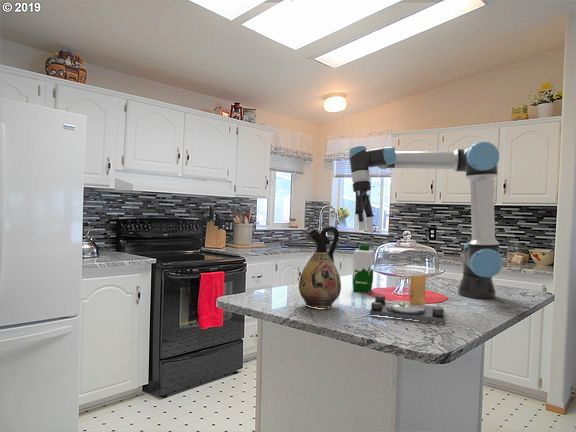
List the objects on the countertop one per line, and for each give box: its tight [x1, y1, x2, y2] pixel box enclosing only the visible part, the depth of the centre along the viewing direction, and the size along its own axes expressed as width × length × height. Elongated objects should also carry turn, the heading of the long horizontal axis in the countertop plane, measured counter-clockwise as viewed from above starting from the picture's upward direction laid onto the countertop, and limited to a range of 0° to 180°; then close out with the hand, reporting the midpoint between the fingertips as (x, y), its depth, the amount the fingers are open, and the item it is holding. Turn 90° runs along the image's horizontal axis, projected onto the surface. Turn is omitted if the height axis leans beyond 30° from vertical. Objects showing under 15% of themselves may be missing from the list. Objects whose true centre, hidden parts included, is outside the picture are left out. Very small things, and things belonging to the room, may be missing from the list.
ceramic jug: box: [298, 225, 342, 309], centre depth 161 cm, size 17×15×30 cm
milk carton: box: [352, 244, 375, 293], centre depth 193 cm, size 9×9×20 cm
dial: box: [386, 273, 427, 314], centre depth 154 cm, size 18×13×11 cm
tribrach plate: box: [369, 294, 446, 324], centre depth 154 cm, size 24×17×4 cm
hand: (366, 231), depth 186 cm, fingers open, 13 cm apart
